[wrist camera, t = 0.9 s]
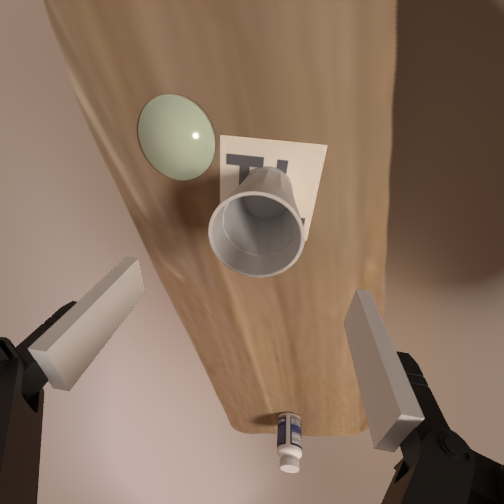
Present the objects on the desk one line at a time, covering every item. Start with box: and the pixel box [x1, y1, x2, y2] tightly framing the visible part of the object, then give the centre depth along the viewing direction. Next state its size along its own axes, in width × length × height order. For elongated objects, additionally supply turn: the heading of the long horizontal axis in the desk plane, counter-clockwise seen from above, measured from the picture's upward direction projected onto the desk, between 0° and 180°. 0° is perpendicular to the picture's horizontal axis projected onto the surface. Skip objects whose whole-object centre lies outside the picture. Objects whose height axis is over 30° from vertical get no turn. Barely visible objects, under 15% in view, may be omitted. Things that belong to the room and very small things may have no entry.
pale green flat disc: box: [138, 94, 216, 180], centre depth 28 cm, size 9×9×1 cm
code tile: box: [220, 135, 328, 241], centre depth 30 cm, size 12×12×1 cm
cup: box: [208, 166, 305, 277], centre depth 25 cm, size 8×8×12 cm
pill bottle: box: [277, 412, 302, 473], centre depth 54 cm, size 5×5×10 cm
